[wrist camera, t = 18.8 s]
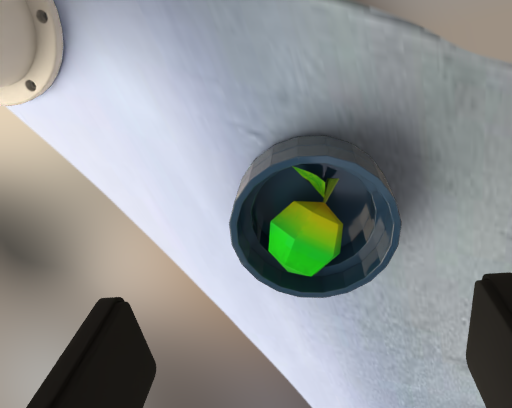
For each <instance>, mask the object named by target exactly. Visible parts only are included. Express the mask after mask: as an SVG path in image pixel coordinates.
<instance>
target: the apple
mask: <svg viewBox="0 0 512 408" xmlns="http://www.w3.org/2000/svg"><path fill="white" fill-rule="evenodd" d="M292 167H293V168H294V169H295V170H296V171H297V172H298V173H299V174H300V175H301V176H302V177H304V178H305V179H306V180H307V181H308V182H309V183H310V184H311V185H312V186H313V187H314V188H315V189H316V190H317V191H318V192H319V193H320V194H321V195H322V197H323V202H307V201H293V202H292V203H291V204H290V205H289V206H287V207H286V208H285V209H284V210H283V211H282V212H281V213H280V214H278V215H277V216H276V217H275V218H274V219H273V220H272V221H271V222H270V236H269V250H268V251H269V252H270V253H271V254H272V255H273V256H274V257H275V259H276V260H277V261H278V262H279V263H280V264H281V265H282V266H283V267H284V268H285V269H286V270H287V271H288V272H291V273H296V274H301V275H305V276H310V277H311V276H313V275H314V274H316V273H318V272H319V271H320V270H321V269H322V268H323V267H325V266H326V265H327V264H328V263H329V262H330V261H332V260H333V259H334V258H335V257H336V256H337V255H339V254H340V249H341V239H342V230H343V223H342V222H341V221H340V220H339V219H338V218H337V216H336V215H335V214H334V213H333V212H332V211H331V210H330V208H329V207H328V206H327V205H326V204H325V203H326V201H327V200H328V198H329V196H330V194H331V193H332V191H333V189H334V187H335V185H336V184H337V182H338V180H339V178H327V182H326V187H325V182H324V181H323V180H322V179H321V178H320V177H319V176H318V175H316V174H313V173H310V172H307V171H305V170H302V169H299V168H296V167H294V166H292Z"/></svg>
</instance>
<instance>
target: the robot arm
mask: <svg viewBox="0 0 512 408" xmlns="http://www.w3.org/2000/svg"><path fill="white" fill-rule="evenodd" d="M46 14H47V16H46ZM47 17H48V18H47ZM62 55H63V35H62V27H61V23H60V19H59V15H58V11H57V8H56V6H55V3H54V1H53V0H0V106H12V105H18V104H22V103H25V102H28V101H30V100H33V99H35V98H36V97H38V96H40V95H41V94H43V93H44V92H45V91H46V90H47V89H48V88H49V87H50V86H51V85H52V83H53V81H54V80H55V78H56V76H57V75H58V72H59V69H60V65H61V62H62ZM466 360H467V364H468V368H469V370H470V372H471V375H472V377H473V379H474V381H475V383H476V386H477V388H478V390H479V392H480V395H481V397H482V399H483V401H484V403H485V406H486V408H512V273H494V274H484V276H483V278H482V280H478V281H476V282H475V288H474V295H473V303H472V311H471V318H470V326H469V334H468V342H467V349H466ZM155 374H156V363H155V360H154V358H153V356H152V354H151V352H150V349H149V347H148V345H147V343H146V340H145V338H144V336H143V333H142V331H141V329H140V327H139V324H138V323H137V320H136V318H135V316H134V313H133V311H132V309H131V307H130V305H129V303H128V302H125V301H124V300H123V298H121V297H115V298H101V299H99V300H98V302H97V303H96V304H95V306H94V307H93V309H92V310H91V312H90V313H89V315H88V316H87V318H86V319H85V321H84V322H83V324H82V325H81V327H80V328H79V330H78V331H77V333H76V334H75V336H74V337H73V339H72V340H71V342H70V343H69V345H68V346H67V348H66V349H65V351H64V352H63V353H62V355H61V356H60V358H59V360H58V361H57V362H56V364H55V366H54V367H53V368H52V370H51V371H50V373H49V375H48V376H47V378H46V379H45V380H44V382H43V383H42V385H41V386H40V388H39V389H38V391H37V392H36V394H35V395H34V397H33V398H32V400H31V401H30V403H29V404H28V406H27V407H26V408H143V406H144V403H145V400H146V398H147V395H148V393H149V390H150V388H151V385H152V382H153V380H154V377H155Z"/></svg>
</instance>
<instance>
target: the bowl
mask: <svg viewBox="0 0 512 408" xmlns="http://www.w3.org/2000/svg"><path fill="white" fill-rule="evenodd" d="M292 166H294V167H296V168H299V169H302V170H305V171H307V172H310V173H313V174H316V175H318V176H319V177H320V178H321V179H322V180H323V181H324V182H325V187H326V182H327V178H339V180H338V182H337V184H336V185H335V187H334V189H333V191H332V193H331V194H330V196H329V198H328V200H327V201H326V203H325V204H326V205H327V206H328V207H329V208H330V210H331V211H332V212H333V213H334V214H335V215H336V216H337V218H338V219H339V220H340V221H341V222H342V223H343V230H342V239H341V249H340V254H339V255H337V256H336V257H335V258H334V259H333V260H332V261H330V262H329V263H328V264H327V265H326V266H325V267H323V268H322V269H321V270H320V271H319V272H318V273H316V274H314V275H313V276H311V277H310V276H305V275H301V274H296V273H291V272H288V271H287V270H286V269H285V268H284V267H283V266H282V265H281V264H280V263H279V262H278V261H277V260H276V259H275V257H274V256H273V255H272V254H271V253H270V252H269V251H268V250H269V236H270V222H271V221H272V220H273V219H274V218H275V217H276V216H277V215H278V214H280V213H281V212H282V211H283V210H284V209H285V208H286V207H287V206H289V205H290V204H291V203H292V202H293V201H307V202H323V197H322V195H321V194H320V193H319V192H318V191H317V190H316V189H315V188H314V187H313V186H312V185H311V184H310V183H309V182H308V181H307V180H306V179H305V178H304V177H302V176H301V175H300V174H299V173H298V172H297V171H296V170H295V169H294V168H293V167H292ZM229 226H230V234H231V242H232V246H233V248H234V250H235V252H236V254H237V256H238V258H239V260H240V262H241V264H242V265H243V266H244V267H245V268H246V269H247V270H248V271H249V272H250V273H251V274H252V275H253V276H254V277H255V278H256V279H257V280H258V281H260V282H262V283H264V284H266V285H267V286H269V287H271V288H273V289H275V290H276V291H279V292H282V293H286V294H290V295H294V296H297V297H314V298H324V297H325V298H326V297H330V296H335V295H339V294H344V293H348V292H350V291H352V290H354V289H356V288H358V287H360V286H362V285H364V284H366V283H368V282H370V281H371V280H372V279H373V278H375V277H376V276H377V275H378V274H379V273H380V272H381V271H382V270H383V269H384V268H385V267H386V266H387V265H388V263H389V261H390V260H391V258H392V256H393V254H394V252H395V251H396V249H397V247H398V244H399V237H400V230H401V219H400V215H399V211H398V207H397V203H396V200H395V198H394V195H393V193H392V191H391V189H390V187H389V185H388V183H387V180H386V178H385V176H384V174H383V173H382V171H381V170H380V169H379V167H378V166H377V165H376V163H375V162H374V160H373V159H372V158H371V157H370V156H369V155H368V154H366V153H365V152H363V151H362V150H360V149H359V148H357V147H356V146H354V145H353V144H351V143H349V142H346V141H343V140H339V139H335V138H332V137H328V136H299V137H295V138H292V139H290V140H287V141H284V142H281V143H278V144H275V145H273V146H272V147H271V148H269V149H268V150H267V151H265V152H264V153H263V154H261V155H260V156H259V157H257V158H256V159H255V160H254V161H253V163H252V164H251V166H250V167H249V169H248V170H247V172H246V173H245V175H244V176H243V178H242V180H241V183H240V186H239V190H238V193H237V196H236V199H235V202H234V206H233V210H232V214H231V218H230V222H229Z"/></svg>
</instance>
